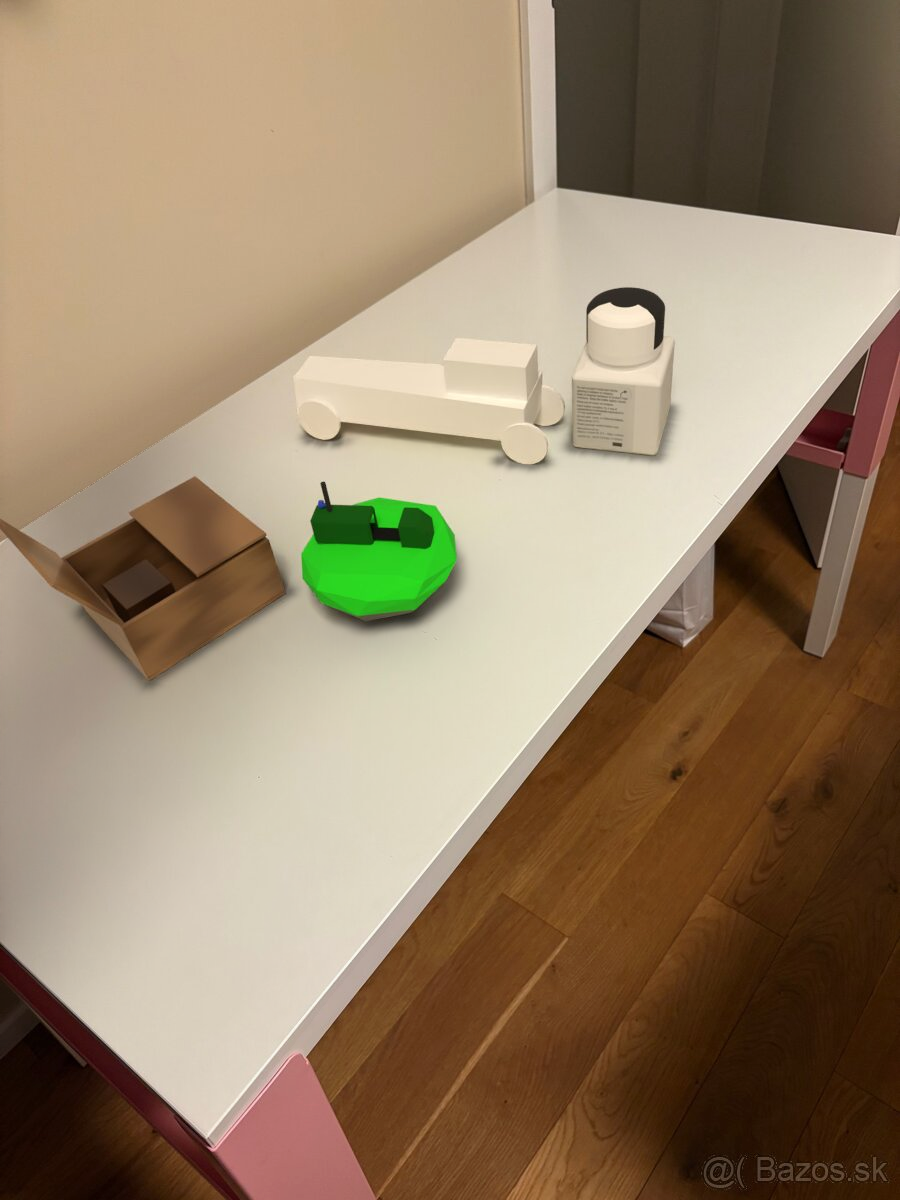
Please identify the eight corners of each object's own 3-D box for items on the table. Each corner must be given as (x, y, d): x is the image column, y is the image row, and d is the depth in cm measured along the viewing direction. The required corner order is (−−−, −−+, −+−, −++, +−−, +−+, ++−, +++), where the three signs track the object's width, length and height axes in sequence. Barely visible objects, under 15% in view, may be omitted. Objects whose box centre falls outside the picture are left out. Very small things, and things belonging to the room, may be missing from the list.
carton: (148, 681, 72) (118, 621, 67) (86, 611, 78) (54, 552, 74) (286, 593, 77) (266, 532, 73) (217, 534, 84) (195, 475, 79)
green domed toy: (297, 646, 73) (263, 539, 65) (336, 544, 81) (309, 438, 73) (450, 656, 71) (434, 546, 63) (474, 549, 79) (462, 441, 71)
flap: (119, 620, 67) (117, 624, 67) (56, 552, 74) (53, 555, 74) (54, 583, 62) (51, 586, 62) (-9, 513, 68) (-12, 516, 68)
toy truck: (565, 425, 90) (564, 337, 83) (546, 470, 85) (543, 381, 79) (327, 398, 97) (309, 316, 91) (298, 438, 93) (276, 355, 86)
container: (589, 401, 92) (590, 275, 83) (670, 408, 90) (679, 279, 81) (571, 448, 87) (569, 319, 78) (656, 457, 85) (665, 326, 76)
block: (143, 644, 74) (126, 609, 71) (119, 619, 77) (101, 584, 74) (187, 617, 76) (171, 581, 73) (162, 593, 78) (146, 558, 75)
